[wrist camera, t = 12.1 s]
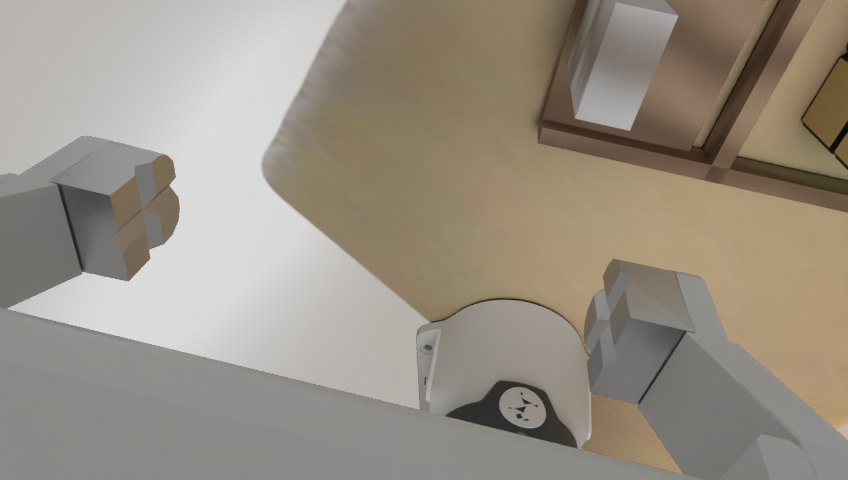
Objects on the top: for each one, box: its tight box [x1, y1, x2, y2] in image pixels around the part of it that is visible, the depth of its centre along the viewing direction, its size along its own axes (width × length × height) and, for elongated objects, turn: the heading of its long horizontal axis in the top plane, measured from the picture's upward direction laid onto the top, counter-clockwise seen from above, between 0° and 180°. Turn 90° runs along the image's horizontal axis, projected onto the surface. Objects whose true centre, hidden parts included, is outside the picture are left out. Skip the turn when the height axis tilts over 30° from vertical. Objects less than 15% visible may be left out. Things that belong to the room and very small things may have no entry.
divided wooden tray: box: [538, 0, 848, 212], centre depth 31 cm, size 16×28×10 cm, turn 80°
